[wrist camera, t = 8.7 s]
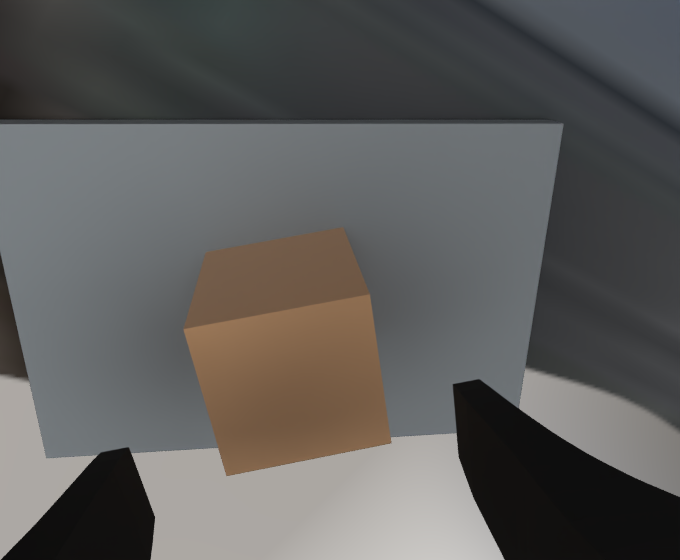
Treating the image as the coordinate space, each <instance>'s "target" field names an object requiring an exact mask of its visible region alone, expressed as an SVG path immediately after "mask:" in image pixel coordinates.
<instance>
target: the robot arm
mask: <svg viewBox="0 0 680 560" xmlns="http://www.w3.org/2000/svg"><path fill="white" fill-rule="evenodd" d="M453 396H454V407H455V419H456V431H457V442H458V454H459V459H460V462H461V464H462V467H463V470H464V473H465V476H466V478H467V481H468V484H469V487H470V489H471V492H472V495H473V497H474V500H475V502H476V504H477V506H478V508H479V510H480V512H481V514H482V516H483V517H484V520H485V522H486V524H487V525H488V528H489V529H490V532H491V533H492V535H493V537H494V539H495V541H496V543H497V545H498V547H499V549H500V551H501V553H502V555H503V557H504V559H505V560H680V497H678V496H676V495H673V494H671V493H668V492H666V491H664V490H661V489H659V488H657V487H654V486H652V485H650V484H647V483H645V482H643V481H641V480H638V479H636V478H634V477H632V476H630V475H627V474H626V473H624V472H622V471H620V470H618V469H616V468H614V467H612V466H609V465H608V464H606V463H604V462H602V461H600V460H598V459H596V458H594V457H593V456H591V455H589V454H587V453H585V452H584V451H582V450H580V449H579V448H577V447H575V446H574V445H572V444H570V443H569V442H567V441H566V440H564V439H562V438H561V437H559V436H557V435H556V434H554V433H553V432H551V431H550V430H548V429H547V428H546V427H544V426H543V425H541V424H540V423H538V422H537V421H535V420H534V419H532V418H531V417H530V416H528V415H527V414H525V413H524V412H522V411H521V410H520V409H519V408H517V407H516V406H515V405H513V404H512V403H511V402H509V401H508V400H507V399H505V398H504V397H503V396H501V395H500V394H499V393H497V392H496V391H495V390H493V389H492V388H491V387H490V386H488V385H487V384H485V383H484V382H483V381H481V380H480V379H476V380H471V381H466V382H461V383H456V384H453ZM154 523H155V516H154V513H153V511H152V508H151V505H150V503H149V500H148V497H147V495H146V492H145V489H144V487H143V484H142V481H141V478H140V476H139V473H138V470H137V468H136V465H135V462H134V460H133V457H132V454H131V451H130V449H129V447H126V448H121V449H115V450H110V451H105V452H101V453H100V454H99V455H98V456H97V457H96V458H95V459H94V460H93V461H92V462H91V463H90V464H89V465H88V466H87V467H86V469H85V470H84V471H83V472H82V473H81V474H80V475H79V476H78V478H77V479H76V480H75V481H74V482H73V483H72V484H71V485H70V487H69V488H68V489H67V490H66V491H65V492H64V494H63V495H62V496H61V497H60V498H59V499H58V500H57V501H56V502H55V503H54V505H53V506H52V507H51V508H50V509H49V510H48V511H47V512H46V513H45V514H44V515H43V517H42V518H41V519H40V520H39V521H38V522H37V523H36V524H35V525H34V526H33V527H32V528H31V530H30V531H28V533H26V535H25V536H24V537H23V538H22V539H21V540H20V541H19V542H18V543H17V544H16V545H15V546H14V547H13V548H12V549H11V550H10V551H9V552H8V553H7V554H6V555H5V556H4V557H3V558H2V559H1V560H150V559H151V551H152V543H153V533H154Z"/></svg>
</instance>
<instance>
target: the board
mask: <svg viewBox="0 0 680 560" xmlns="http://www.w3.org/2000/svg"><path fill="white" fill-rule="evenodd" d="M562 130H563V123H560V122H556V121H553V120H0V252H1V257H2V261H3V266H4V270H5V275H6V279H7V284H8V288H9V293H10V297H11V302H12V306H13V311H14V315H15V320H16V324H17V329H18V333H19V337H20V342H21V346H22V351H23V355H24V360H25V364H26V369H27V373H28V378H29V382H30V387H31V391H32V396H33V400H34V404H35V409H36V414H37V418H38V422H39V427H40V431H41V436H42V440H43V445H44V449H45V454H46V458H56V457H57V458H58V457H74V456H91V455H99V454H100V453H101V452H105V451H110V450H115V449H121V448H126V447H129V449H130V451H131V453H140V452H156V451H172V450H189V449H204V448H218V445H217V442H216V438H215V435H214V432H213V428H212V425H211V421H210V418H209V415H208V411H207V408H206V404H205V401H204V398H203V394H202V391H201V387H200V384H199V381H198V377H197V374H196V370H195V367H194V364H193V360H192V357H191V353H190V350H189V347H188V343H187V340H186V337H185V333H184V330H183V329H184V325H185V322H186V318H187V315H188V312H189V308H190V305H191V301H192V298H193V294H194V291H195V287H196V284H197V281H198V277H199V274H200V270H201V267H202V263H203V260H204V256H205V253H206V252H209V251H214V250H220V249H225V248H231V247H236V246H242V245H247V244H253V243H258V242H264V241H269V240H275V239H280V238H286V237H291V236H297V235H303V234H308V233H314V232H319V231H325V230H330V229H336V228H341V227H343V228H344V230H345V233H346V235H347V238H348V240H349V243H350V245H351V248H352V250H353V253H354V255H355V258H356V260H357V263H358V266H359V268H360V271H361V273H362V276H363V278H364V281H365V283H366V286H367V288H368V291H369V293H370V298H371V305H372V312H373V319H374V326H375V333H376V340H377V347H378V354H379V361H380V368H381V375H382V382H383V388H384V395H385V402H386V409H387V416H388V423H389V430H390V437H400V436H416V435H432V434H449V433H457V431H456V419H455V407H454V396H453V384H456V383H461V382H466V381H471V380H476V379H480V380H481V381H483V382H484V383H485V384H487V385H488V386H490V387H491V388H492V389H493V390H495V391H496V392H497V393H499V394H500V395H501V396H503V397H504V398H505V399H507V400H508V401H509V402H511V403H512V404H513V405H515V406H516V407H517V408H519V403H520V396H521V390H522V384H523V377H524V371H525V365H526V358H527V352H528V346H529V339H530V333H531V327H532V320H533V314H534V308H535V301H536V295H537V289H538V282H539V276H540V270H541V263H542V257H543V251H544V244H545V238H546V232H547V225H548V219H549V213H550V206H551V200H552V194H553V187H554V181H555V175H556V168H557V162H558V156H559V149H560V143H561V137H562Z"/></svg>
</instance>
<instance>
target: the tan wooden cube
mask: <svg viewBox="0 0 680 560" xmlns="http://www.w3.org/2000/svg"><path fill="white" fill-rule="evenodd" d="M183 330H184V333H185V337H186V340H187V343H188V347H189V350H190V353H191V357H192V360H193V364H194V367H195V370H196V374H197V377H198V381H199V384H200V387H201V391H202V394H203V398H204V401H205V404H206V408H207V411H208V415H209V418H210V421H211V425H212V428H213V432H214V435H215V438H216V442H217V445H218V448H219V452H220V455H221V459H222V462H223V465H224V469H225V472H226V475H227V476H230V475H235V474H240V473H244V472H249V471H254V470H259V469H265V468H270V467H275V466H280V465H285V464H290V463H295V462H299V461H305V460H309V459H315V458H319V457H325V456H330V455H335V454H339V453H345V452H350V451H355V450H359V449H365V448H370V447H375V446H380V445H385V444H390V443H391V437H390V430H389V423H388V416H387V409H386V402H385V395H384V388H383V382H382V375H381V368H380V361H379V354H378V347H377V340H376V333H375V326H374V319H373V312H372V305H371V298H370V293H369V291H368V288H367V286H366V283H365V281H364V278H363V276H362V273H361V271H360V268H359V266H358V263H357V260H356V258H355V255H354V253H353V250H352V248H351V245H350V243H349V240H348V238H347V235H346V233H345V230H344V228H343V227H341V228H336V229H330V230H325V231H319V232H314V233H308V234H303V235H297V236H291V237H286V238H280V239H275V240H269V241H264V242H258V243H253V244H247V245H242V246H236V247H231V248H225V249H220V250H214V251H209V252H206V253H205V256H204V260H203V263H202V267H201V270H200V274H199V277H198V281H197V284H196V287H195V291H194V294H193V298H192V301H191V305H190V308H189V312H188V315H187V318H186V322H185V325H184V329H183Z"/></svg>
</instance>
